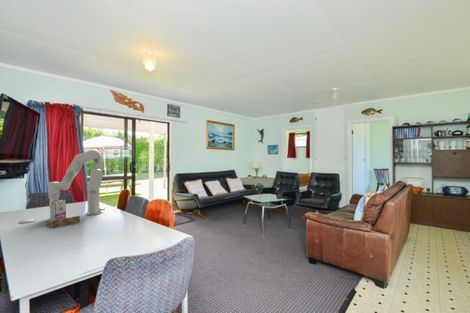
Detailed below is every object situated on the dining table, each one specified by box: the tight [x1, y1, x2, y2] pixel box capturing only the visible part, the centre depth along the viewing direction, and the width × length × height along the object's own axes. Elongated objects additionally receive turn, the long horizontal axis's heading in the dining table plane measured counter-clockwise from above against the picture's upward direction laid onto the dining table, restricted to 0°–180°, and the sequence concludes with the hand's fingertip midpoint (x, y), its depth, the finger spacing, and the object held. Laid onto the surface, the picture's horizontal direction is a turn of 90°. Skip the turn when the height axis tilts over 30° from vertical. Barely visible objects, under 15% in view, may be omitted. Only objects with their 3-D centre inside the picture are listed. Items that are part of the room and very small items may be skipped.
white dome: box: [18, 218, 37, 224], centre depth 188 cm, size 10×10×1 cm
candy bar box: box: [49, 199, 67, 222], centre depth 191 cm, size 11×5×16 cm, turn 179°
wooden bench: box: [46, 215, 81, 228], centre depth 183 cm, size 18×14×5 cm
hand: (53, 217), depth 198 cm, fingers closed
